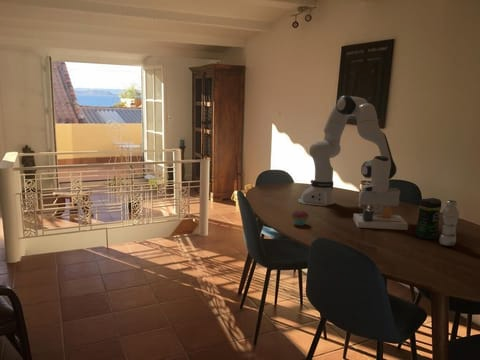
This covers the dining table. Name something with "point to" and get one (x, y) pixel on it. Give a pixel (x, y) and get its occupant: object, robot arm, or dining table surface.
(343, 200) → the dining table surface
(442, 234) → the plastic bottle
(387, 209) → the fader
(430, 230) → the coffee jar
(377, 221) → the console
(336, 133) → the robot arm
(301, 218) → the cupcake
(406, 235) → the dining table surface
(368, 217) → the fader
